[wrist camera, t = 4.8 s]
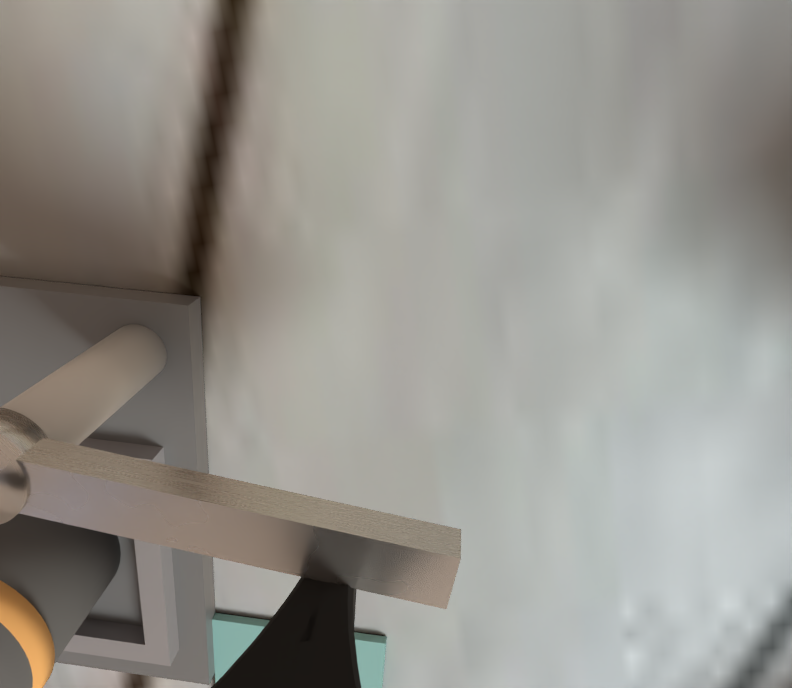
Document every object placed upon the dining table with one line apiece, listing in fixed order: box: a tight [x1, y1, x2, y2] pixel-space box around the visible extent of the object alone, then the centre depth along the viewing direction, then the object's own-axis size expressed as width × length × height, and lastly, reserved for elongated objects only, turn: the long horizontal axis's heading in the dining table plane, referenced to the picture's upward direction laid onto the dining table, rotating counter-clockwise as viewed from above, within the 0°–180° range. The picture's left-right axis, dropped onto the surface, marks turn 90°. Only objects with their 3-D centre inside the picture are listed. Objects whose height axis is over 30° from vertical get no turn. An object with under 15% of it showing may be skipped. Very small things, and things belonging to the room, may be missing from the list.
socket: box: [0, 276, 215, 685], centre depth 17 cm, size 9×14×6 cm, turn 176°
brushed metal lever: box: [0, 407, 461, 609], centre depth 12 cm, size 10×2×1 cm, turn 79°
